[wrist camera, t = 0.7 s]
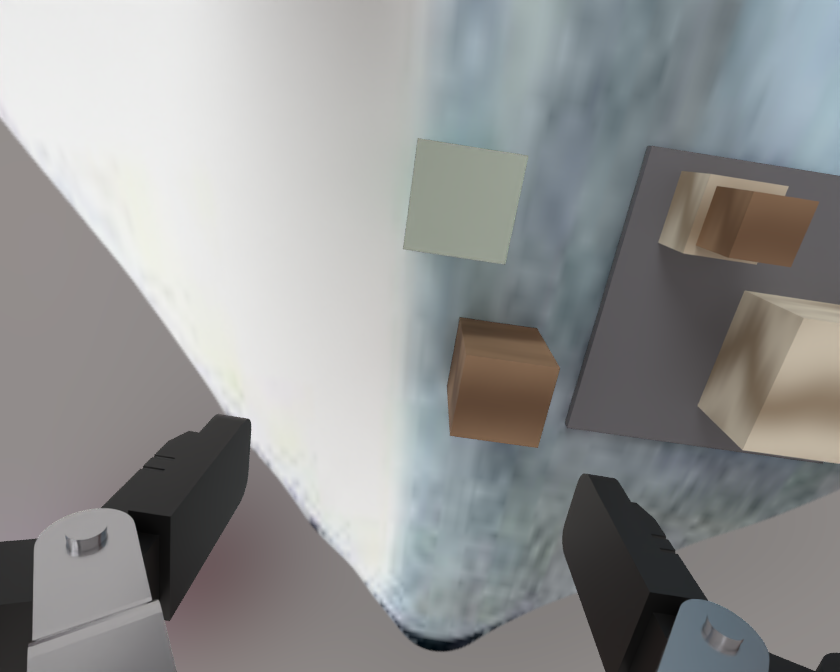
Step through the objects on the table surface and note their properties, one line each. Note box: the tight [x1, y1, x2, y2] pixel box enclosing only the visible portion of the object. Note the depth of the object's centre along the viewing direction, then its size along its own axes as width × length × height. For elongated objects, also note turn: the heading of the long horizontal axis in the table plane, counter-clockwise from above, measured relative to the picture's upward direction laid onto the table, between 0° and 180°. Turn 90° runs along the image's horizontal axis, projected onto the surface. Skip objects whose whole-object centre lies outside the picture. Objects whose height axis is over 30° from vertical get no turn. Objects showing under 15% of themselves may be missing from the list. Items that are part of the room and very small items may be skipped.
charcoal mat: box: [565, 146, 840, 464], centre depth 30 cm, size 18×18×1 cm
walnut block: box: [447, 317, 560, 448], centre depth 29 cm, size 5×5×6 cm
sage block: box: [403, 138, 528, 264], centre depth 25 cm, size 5×5×6 cm
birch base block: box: [698, 291, 840, 464], centre depth 28 cm, size 8×8×5 cm
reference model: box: [658, 171, 819, 267], centre depth 25 cm, size 4×4×6 cm
